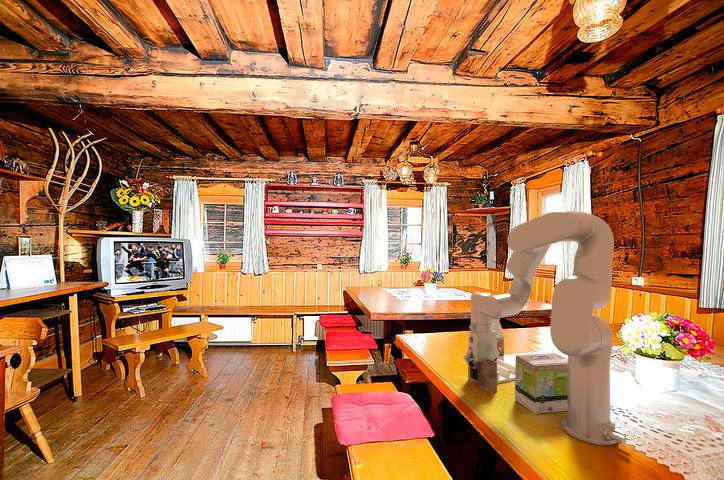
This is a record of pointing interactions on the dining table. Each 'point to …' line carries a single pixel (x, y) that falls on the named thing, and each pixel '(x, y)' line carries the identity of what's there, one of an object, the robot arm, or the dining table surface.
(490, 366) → the walnut board
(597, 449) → the dining table surface
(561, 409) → the tea box
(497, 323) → the milk bottle
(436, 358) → the dining table surface
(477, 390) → the dining table surface
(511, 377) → the rack
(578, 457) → the dining table surface
